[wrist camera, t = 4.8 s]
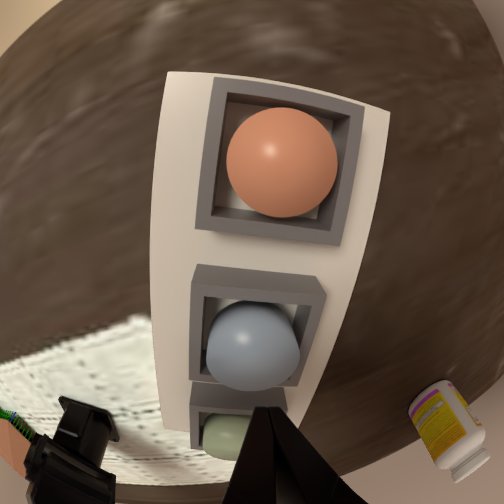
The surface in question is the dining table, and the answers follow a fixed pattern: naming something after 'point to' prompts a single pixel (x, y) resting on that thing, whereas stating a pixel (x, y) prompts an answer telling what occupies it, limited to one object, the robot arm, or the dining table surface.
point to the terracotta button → (282, 162)
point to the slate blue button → (251, 346)
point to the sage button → (224, 435)
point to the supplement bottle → (449, 429)
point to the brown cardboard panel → (13, 444)
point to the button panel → (250, 241)
